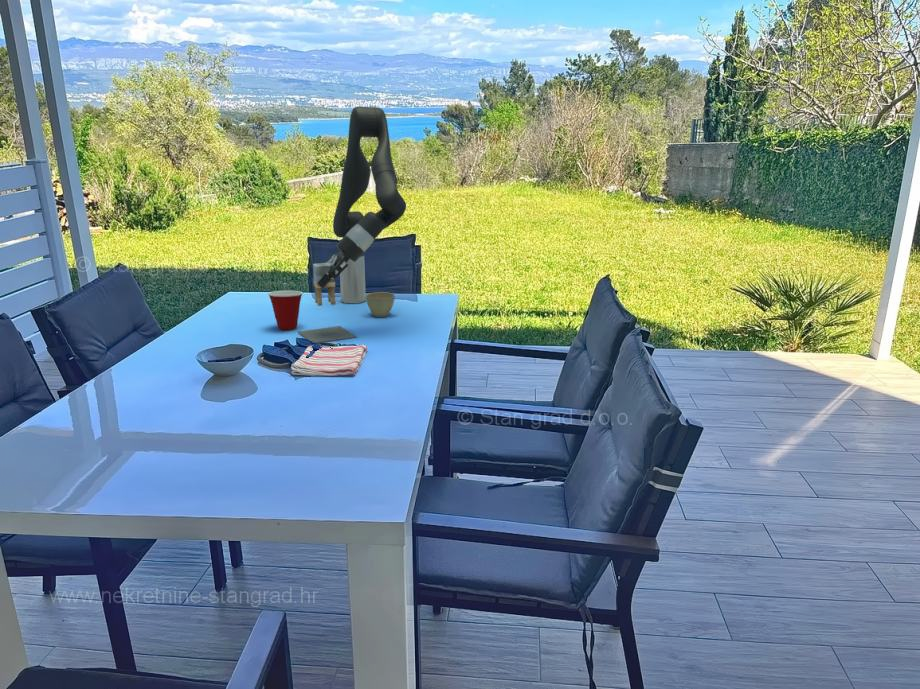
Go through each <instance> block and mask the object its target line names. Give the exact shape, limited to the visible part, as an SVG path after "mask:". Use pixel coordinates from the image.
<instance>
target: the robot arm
mask: <svg viewBox="0 0 920 689" xmlns="http://www.w3.org/2000/svg"><path fill="white" fill-rule="evenodd" d="M388 125H389V124H388V120H387V116H386V113H385V111H384V110H383V109H382V108H380V107H377V106H355V107H353V108H352V110H351V113H350V117H349V127H348V139H347V148H346V155H345V160H344V164H343V165H344V166H343V170H342V176H341V182H340V183H341V184H340V190H339V196H338V201H337V204H336V207H335V211H334V215H333V222H332V227H333V228H332V229H333V234H334V235H335V236H336V237H338V238H341V239H340V241H339V242H337V244H336V248H338V252H337V253H332V255H331V256H330V257H329V258H328V260H326V262H325V263H331V264H330V269H329V270H328V271H327V272H326V274H325V275H324V276H323V277H322V278H321V279H320V281H319V282H318V285H319V286H321V287H322V288H321V289H324V287H325V286H326V285H327V283H328V282H329V281H330V280H331V279H337V277H338V276H339V278H340V279H339V280H340V281H339V284H340V285H339V286H340V302H341V303H345V304H359V303H364V302H367V301H366V274H365V272H366V271H365V270H366V266H365V252H366V251H367V250H368V249H369V247H370V246H371V245H372V243H373V242H374V241H375V240H376V239H377V237H378V236H379V235H380V234H381V233H382V232H383V231H384V230H385V229H387V228H388V227H390V226H391V225H393V224H394V223H396V222H397V221H399V219H400V218H402V216H404V214H405V213H406V210H407V203H406V200H405V199H404V197H402V195H401V194H400V192H399V189H398V187H397V185H398V177H397V173H396V171H395V167H394V163H393V158H392V154H391V153H392V152H391V143H390V134H389V126H388ZM362 138H377V141H378V142H377V147H376V150H375V152H374V154H373V156H372V158H371V162H370V164H369V162H368V159H367V158H366V156H365V154H364V152H363V150H362V147H361V139H362ZM371 174H372V177H373V181H374V182H373V183H374V184H375V197H376V198H375V199H376V201H377V204H378V205H379V207H380V208H381V209H380V210H378V211H377V212H373V211H368V212H366V213H365V214H364V215H363V213H362V212H361V211H350V210H351V209H352V207H353V205H355V203H356V202H358V200H360V199H361V197H363V195H364V194H365V192H367V190H368V188H369V183H370V179H371ZM333 265H334V267H333ZM333 271H334V273H333Z"/></svg>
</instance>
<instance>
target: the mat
mask: <svg viewBox="0 0 920 689" xmlns="http://www.w3.org/2000/svg"><path fill="white" fill-rule="evenodd" d="M297 333H298V334H299V335H300V336H301V337H302V338H303V339H305V340H306V341H308V340H309V341H313V342H315V343H316V344H321V343H322V344H323V343H329V342H335V341H342V340H350V339H351V340H352V339H355V338H357V335H356V334H353V333H352V332H350V331H349V330H347V329H345V328H344V327H342V326H341V325H338V326H337V325H336V326H330V327H323V328H314V329H307V330H300V331H297ZM309 341H308V342H309Z"/></svg>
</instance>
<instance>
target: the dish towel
mask: <svg viewBox="0 0 920 689" xmlns="http://www.w3.org/2000/svg"><path fill="white" fill-rule="evenodd" d="M312 346H313V345H309V346H308V347H306V348H305V350H304V353H303V354H302V355H301V356H300V357H299V358H298V360H296V361H295V362H294V363H291V366H290V369H291V372H290V373H291V376H314V377H319V376H320V377H323V376H324V377H337V376H338V377H339V376H344V377H345V376H351V377H353V376H354V377H355V376H356V373H357V372H358V371H359V370H360V366H361V365H362V363H363V361H364V359H365V358H366V355H367V352H368V345H365V344H361V345H355V346H354V345H345V346H341V345H340V346H339V345H338V346H321V347H322V348H321V349H319V350H317V351H315V353H314V354H313V355H312V356H311V357H309V358H306V356H307V355H309V354H310V351H312V350H313V348H312ZM330 347H331V348H333V349H331V348H330Z"/></svg>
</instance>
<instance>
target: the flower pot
mask: <svg viewBox="0 0 920 689" xmlns="http://www.w3.org/2000/svg"><path fill="white" fill-rule="evenodd" d="M395 296H396V294H394V293H393V292H392V293H391V292H386V291H381V292H379V291H376V292H369V293H367V294H365V297H366V301H365V302H366V303H367V306H368V308H369V311H370V313H371V314H372V315H373V317H375V318H377V317H378V318H382V317H383V318H384V317H388V316H389V314H390V312H391V311H392V308H393V306H394V302H395Z"/></svg>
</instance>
